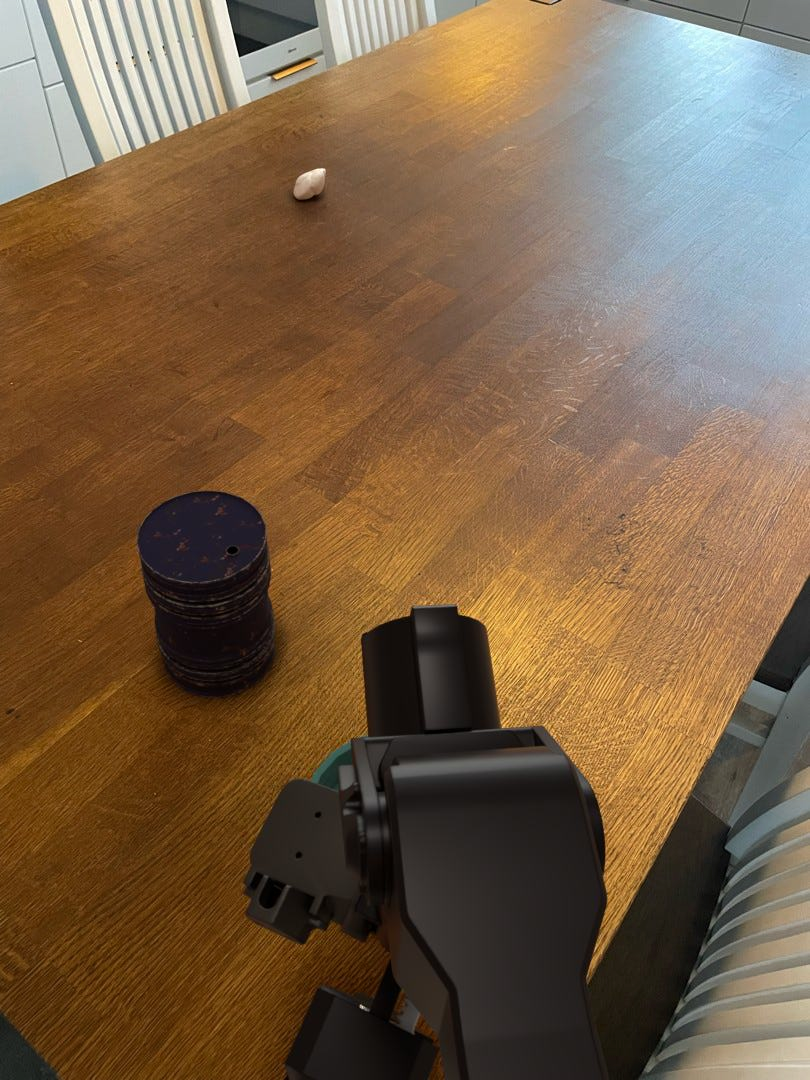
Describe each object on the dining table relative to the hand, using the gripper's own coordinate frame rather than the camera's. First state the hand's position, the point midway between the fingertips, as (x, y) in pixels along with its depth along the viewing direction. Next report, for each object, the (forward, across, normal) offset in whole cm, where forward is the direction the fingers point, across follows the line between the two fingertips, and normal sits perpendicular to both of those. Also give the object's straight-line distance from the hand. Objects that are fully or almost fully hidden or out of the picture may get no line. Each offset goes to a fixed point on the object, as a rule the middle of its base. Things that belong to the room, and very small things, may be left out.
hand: (406, 922), depth 51 cm
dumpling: (+40, -94, -54) cm, 116 cm away
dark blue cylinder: (+19, -16, -23) cm, 34 cm away
